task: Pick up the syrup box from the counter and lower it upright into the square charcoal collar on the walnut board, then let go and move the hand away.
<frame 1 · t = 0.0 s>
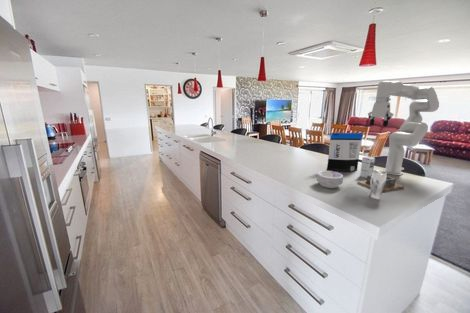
hand: (378, 125, 147), 37 cm above the counter, tool pointing down, fingers open, 9 cm apart
syrup box: (365, 176, 154), on the counter
holder: (379, 185, 136), on the counter
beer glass: (375, 197, 118), on the counter
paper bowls: (328, 186, 135), on the counter
protein powder: (341, 170, 169), on the counter
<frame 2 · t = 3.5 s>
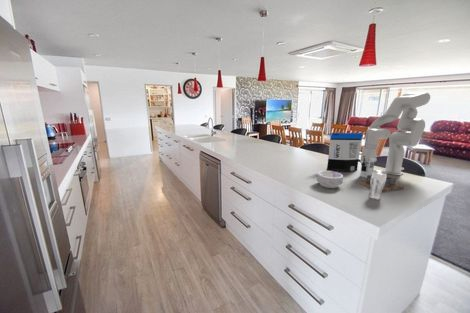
hand: (366, 170, 153), 5 cm above the counter, tool pointing down, fingers closed on syrup box, 6 cm apart
syrup box: (365, 176, 154), on the counter, touching gripper
everything else where it was.
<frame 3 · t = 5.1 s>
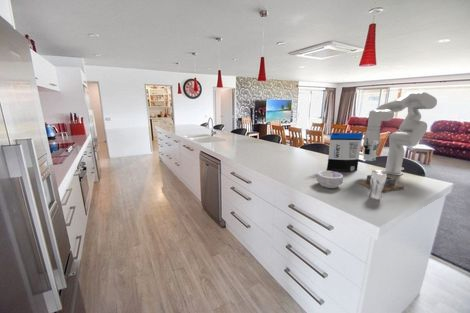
hand: (370, 153, 150), 17 cm above the counter, tool pointing down, fingers closed on syrup box, 6 cm apart
syrup box: (369, 160, 152), point 12 cm above the counter, touching gripper
everything else where it was.
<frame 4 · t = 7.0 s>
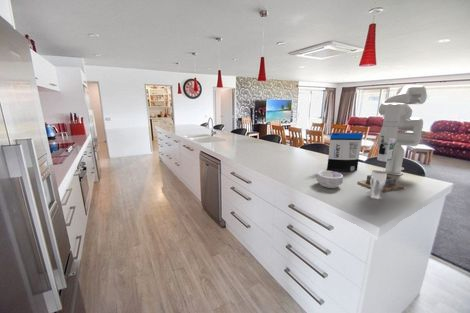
hand: (385, 153, 131), 21 cm above the counter, tool pointing down, fingers closed on syrup box, 6 cm apart
syrup box: (383, 160, 132), point 17 cm above the counter, touching gripper
everything else where it was.
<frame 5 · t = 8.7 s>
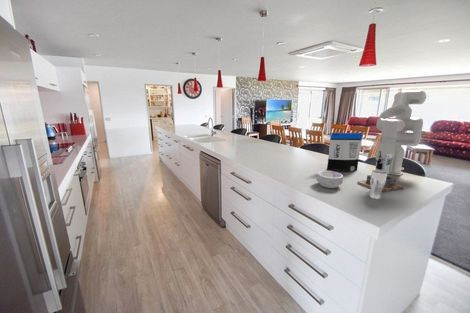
hand: (382, 168, 133), 12 cm above the counter, tool pointing down, fingers closed on syrup box, 6 cm apart
syrup box: (381, 175, 134), point 7 cm above the counter, touching gripper
everything else where it was.
when the fingers open (7 cm above the counter, at t = 10.4 s): syrup box drops 1 cm, resting on holder.
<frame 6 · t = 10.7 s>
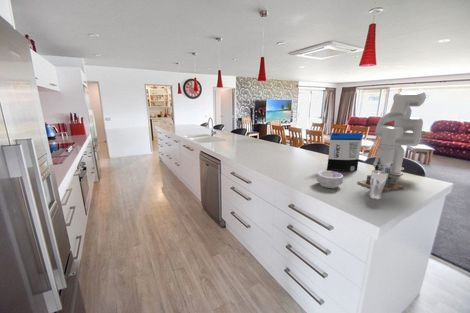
hand: (381, 174, 134), 8 cm above the counter, tool pointing down, fingers open, 8 cm apart
syrup box: (379, 183, 135), point 1 cm above the counter, touching holder
everything else where it was.
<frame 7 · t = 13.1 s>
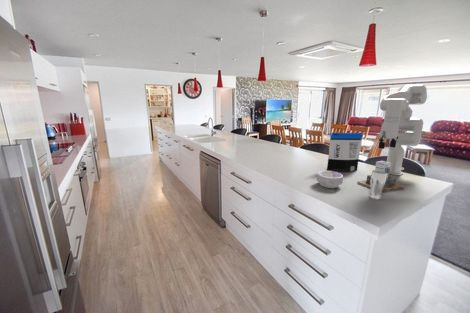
hand: (386, 147, 131), 25 cm above the counter, tool pointing down, fingers open, 9 cm apart
nothing on the counter moved.
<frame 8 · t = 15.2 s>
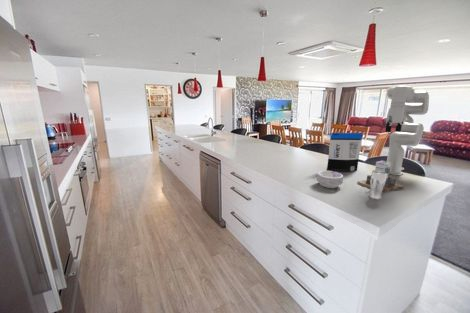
hand: (392, 131, 142), 33 cm above the counter, tool pointing down, fingers open, 9 cm apart
nothing on the counter moved.
at the end: syrup box 0.3 cm off-centre on the holder, point 1.3 cm above the holder's base; syrup box tilted 0°; the gripper is holding nothing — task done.
